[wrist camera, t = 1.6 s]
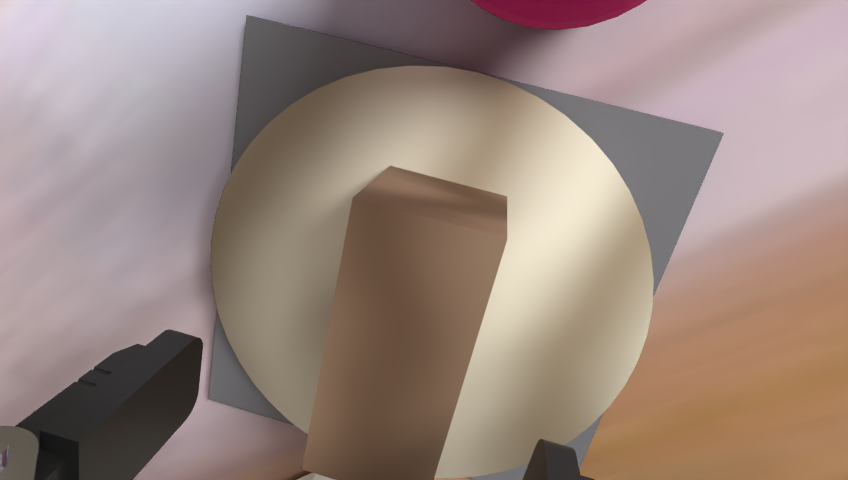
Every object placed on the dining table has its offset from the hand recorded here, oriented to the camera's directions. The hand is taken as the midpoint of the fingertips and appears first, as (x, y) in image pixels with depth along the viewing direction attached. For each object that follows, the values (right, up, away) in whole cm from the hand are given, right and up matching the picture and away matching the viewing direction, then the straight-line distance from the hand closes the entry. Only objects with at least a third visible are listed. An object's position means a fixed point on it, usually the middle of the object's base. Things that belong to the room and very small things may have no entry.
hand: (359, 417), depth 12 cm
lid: (+1, +2, +8) cm, 8 cm away
